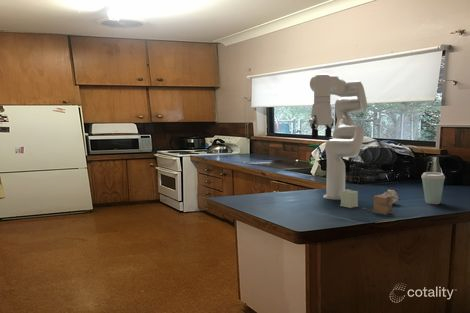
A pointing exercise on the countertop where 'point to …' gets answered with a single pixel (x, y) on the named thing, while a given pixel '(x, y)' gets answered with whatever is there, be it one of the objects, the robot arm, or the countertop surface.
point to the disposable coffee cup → (433, 186)
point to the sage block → (349, 198)
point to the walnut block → (382, 204)
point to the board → (370, 210)
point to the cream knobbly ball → (391, 193)
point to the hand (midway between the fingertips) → (321, 137)
